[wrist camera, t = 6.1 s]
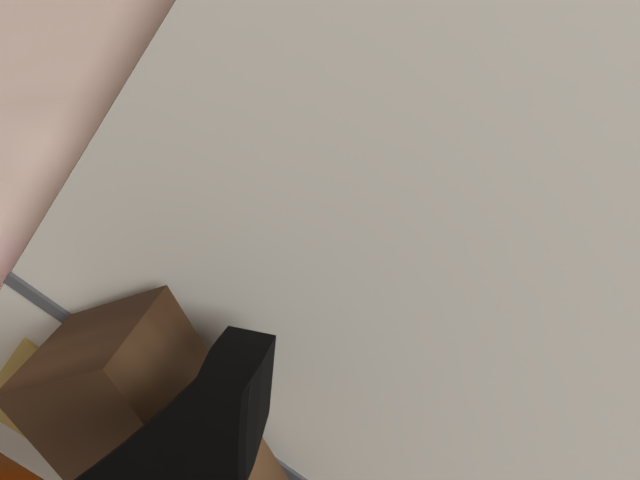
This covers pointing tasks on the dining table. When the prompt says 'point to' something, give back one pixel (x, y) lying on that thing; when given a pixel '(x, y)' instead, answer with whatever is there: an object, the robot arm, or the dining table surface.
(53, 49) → the dining table surface
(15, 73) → the dining table surface
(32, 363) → the bar
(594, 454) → the latch board
